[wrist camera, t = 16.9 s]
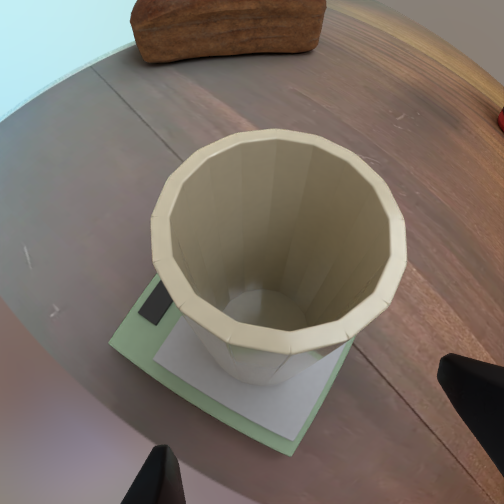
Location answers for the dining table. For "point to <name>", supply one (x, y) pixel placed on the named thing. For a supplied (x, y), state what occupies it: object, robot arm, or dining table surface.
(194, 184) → the cup
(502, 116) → the canned food
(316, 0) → the bread
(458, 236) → the dining table surface
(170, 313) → the scale
